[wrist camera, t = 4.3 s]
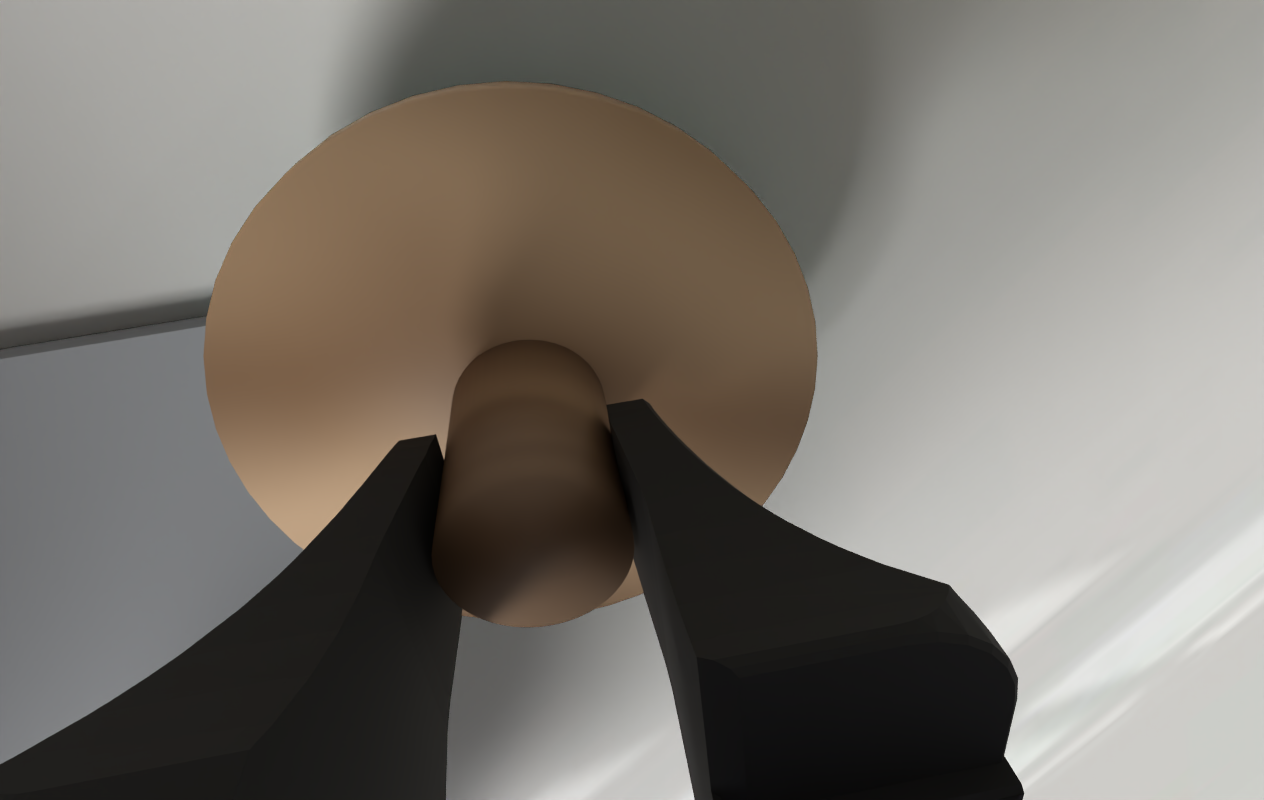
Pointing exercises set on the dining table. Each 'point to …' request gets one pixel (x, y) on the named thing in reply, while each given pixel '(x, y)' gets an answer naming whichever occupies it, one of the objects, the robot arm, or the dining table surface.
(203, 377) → the mat
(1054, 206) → the dining table surface
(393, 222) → the lid
